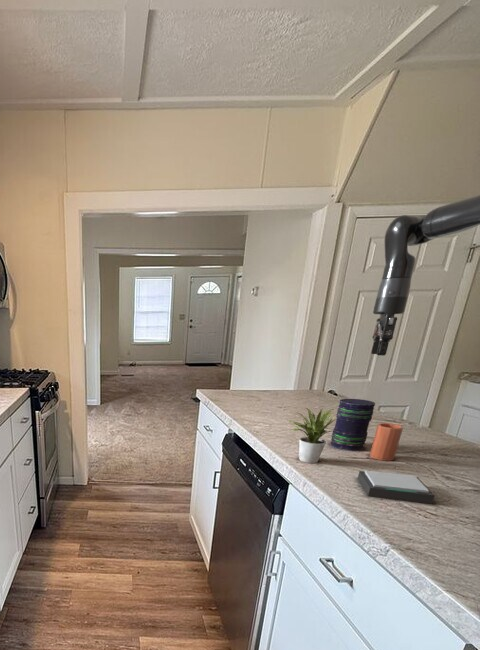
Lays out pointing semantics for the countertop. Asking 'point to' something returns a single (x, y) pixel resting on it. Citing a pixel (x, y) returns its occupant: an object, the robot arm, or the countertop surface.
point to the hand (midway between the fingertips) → (377, 354)
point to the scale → (395, 486)
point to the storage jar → (352, 424)
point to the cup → (386, 441)
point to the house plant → (312, 436)
